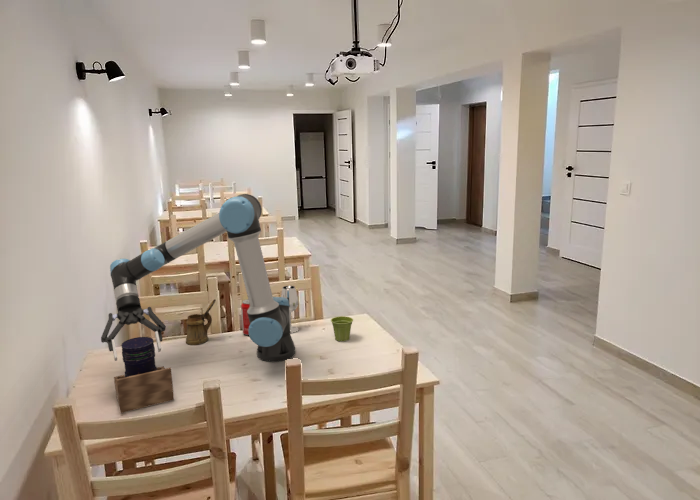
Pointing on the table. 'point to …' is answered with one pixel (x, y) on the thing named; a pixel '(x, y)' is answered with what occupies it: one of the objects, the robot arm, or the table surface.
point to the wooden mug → (198, 327)
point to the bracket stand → (144, 389)
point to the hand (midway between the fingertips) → (138, 354)
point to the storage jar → (138, 356)
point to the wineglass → (291, 301)
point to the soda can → (245, 316)
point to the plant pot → (342, 327)
